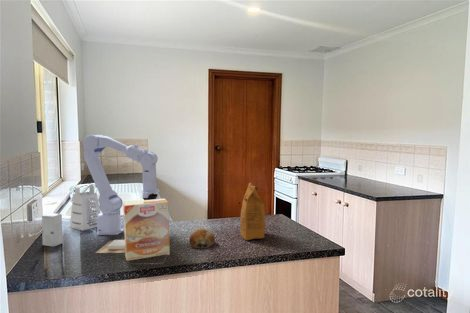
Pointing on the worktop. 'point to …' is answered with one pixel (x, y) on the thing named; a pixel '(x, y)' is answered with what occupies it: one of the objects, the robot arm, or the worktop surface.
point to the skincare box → (52, 229)
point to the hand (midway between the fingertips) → (150, 211)
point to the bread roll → (201, 238)
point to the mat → (105, 250)
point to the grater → (84, 209)
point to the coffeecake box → (146, 228)
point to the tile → (117, 245)
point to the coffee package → (252, 215)
